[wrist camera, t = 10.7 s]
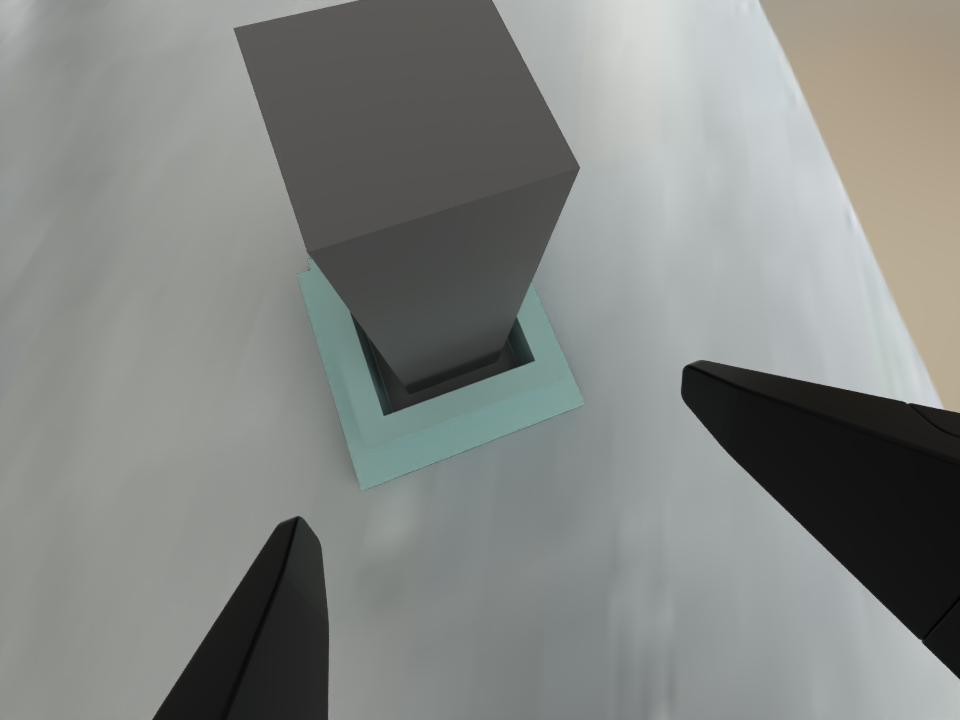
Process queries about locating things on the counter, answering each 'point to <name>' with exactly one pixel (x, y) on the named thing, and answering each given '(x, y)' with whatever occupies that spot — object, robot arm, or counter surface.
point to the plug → (414, 169)
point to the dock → (433, 389)
